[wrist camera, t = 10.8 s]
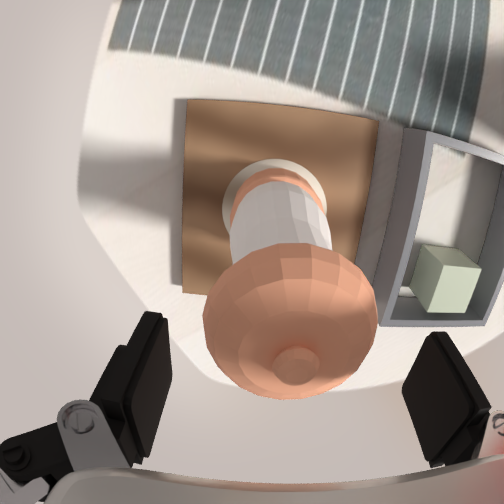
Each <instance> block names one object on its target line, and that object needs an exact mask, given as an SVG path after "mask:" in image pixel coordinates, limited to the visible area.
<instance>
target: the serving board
mask: <svg viewBox="0 0 504 504" xmlns="http://www.w3.org/2000/svg"><path fill="white" fill-rule="evenodd" d="M378 126H379V121H376V120H372V119H367V118H362V117H356V116H351V115H345V114H340V113H334V112H327V111H321V110H314V109H307V108H299V107H291V106H283V105H273V104H263V103H251V102H237V101H219V100H188V101H187V115H186V131H185V149H184V173H183V208H182V289H183V293H190V294H199V295H208V292H209V291H210V290H211V288H212V287H213V286H214V284H215V283H216V282H217V280H218V279H219V277H220V276H221V275H222V273H223V272H224V271H225V270H226V269H228V268H229V267H230V266H232V265H233V261H232V255H231V249H230V234H229V233H230V229H231V227H230V214H231V210H232V207H233V203H234V200H235V197H236V194H237V191H238V190H239V188H240V187H241V185H242V184H243V183H244V181H245V180H247V179H248V178H249V177H251V176H252V175H253V174H255V173H256V172H259V171H262V170H265V169H268V168H284V169H287V170H290V171H293V172H296V173H297V174H299V175H300V176H301V177H303V178H304V179H306V180H307V181H308V183H309V184H310V186H311V187H312V188H313V190H314V191H315V193H316V194H317V196H318V197H319V199H320V200H321V203H322V206H323V210H324V213H325V216H326V218H327V222H328V226H329V229H330V234H331V243H332V250H333V251H335V252H337V253H339V254H341V255H342V256H343V257H345V258H346V259H348V260H349V261H350V262H352V263H353V264H354V262H355V257H356V253H357V248H358V244H359V239H360V234H361V229H362V224H363V219H364V214H365V209H366V204H367V198H368V192H369V187H370V181H371V175H372V169H373V162H374V156H375V149H376V141H377V134H378Z"/></svg>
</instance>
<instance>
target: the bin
mask: <svg viewBox="0 0 504 504" xmlns="http://www.w3.org/2000/svg"><path fill="white" fill-rule="evenodd" d="M433 144H438V145H441V146H445V147H448V148H452V149H455V150H459V151H462V152H465V153H469V154H472V155H475V156H478V157H481V158H484V159H487V160H490V161H493V162H496V163H499V164H501V165H503V167H502V172H501V177H500V182H499V187H498V192H497V196H496V201H495V205H494V209H493V213H492V217H491V221H490V225H489V228H488V232H487V236H486V239H485V242H484V246H483V249H482V252H481V255H480V258H479V261H478V264H477V265H478V266H479V267H480V268H481V269H482V270H481V272H480V275H479V278H478V281H477V283H476V286H475V289H474V291H473V294H472V297H471V299H470V302H469V304H468V306H467V309H466V311H465V313H439V312H427V311H426V310H425V308H424V307H423V306H422V304H421V303H420V301H419V300H418V299H417V298H416V297H398V294H399V290H400V287H401V284H402V281H403V278H404V274H405V271H406V267H407V264H408V260H409V257H410V253H411V249H412V246H413V242H414V238H415V234H416V230H417V226H418V222H419V218H420V213H421V209H422V204H423V200H424V195H425V190H426V185H427V180H428V174H429V169H430V163H431V157H432V151H433ZM503 281H504V156H503V155H501V154H498V153H495V152H492V151H490V150H487V149H484V148H481V147H478V146H475V145H472V144H469V143H466V142H463V141H460V140H457V139H454V138H450V137H447V136H444V135H440V134H437V133H433V132H430V131H425V130H419V129H412V128H405V127H404V134H403V141H402V148H401V154H400V161H399V167H398V173H397V179H396V184H395V190H394V195H393V200H392V205H391V210H390V215H389V219H388V224H387V228H386V233H385V237H384V241H383V246H382V250H381V254H380V258H379V262H378V266H377V270H376V273H375V277H374V281H373V284H372V288H373V290H374V296H375V302H376V308H377V317H378V324H379V326H381V327H468V326H485V324H486V322H487V320H488V317H489V315H490V313H491V311H492V308H493V306H494V304H495V301H496V299H497V297H498V294H499V292H500V289H501V286H502V284H503Z"/></svg>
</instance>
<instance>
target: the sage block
mask: <svg viewBox="0 0 504 504" xmlns="http://www.w3.org/2000/svg"><path fill="white" fill-rule="evenodd" d="M481 270H482V269H481V268H480V267H479V266H478V265H477V264H476V263H474V262H473V261H472V260H471V259H470V258H469V257H467V256H466V255H465V254H464V253H463V252H461V251H460V250H459V249H456V248H448V247H440V246H432V245H424V244H422V246H421V249H420V253H419V256H418V260H417V263H416V267H415V270H414V273H413V277H412V280H411V283H410V286H409V288H410V289H411V290H412V292H413V293H414V294H415V296H416V297H417V299H418V300H419V301H420V303H421V304H422V306H423V307H424V308H425V310H426V311H427V312H439V313H465V311H466V309H467V306H468V304H469V302H470V299H471V297H472V294H473V291H474V289H475V286H476V283H477V281H478V278H479V275H480V272H481Z"/></svg>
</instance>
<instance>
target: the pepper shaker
mask: <svg viewBox="0 0 504 504" xmlns="http://www.w3.org/2000/svg"><path fill="white" fill-rule="evenodd" d="M230 227H231V229H230V233H229V234H230V249H231V255H232V261H233V265H232V266H230V267H229V268H228V269H226V270H225V271H224V272H223V273H222V275H221V276H220V277H219V279H218V280H217V282H216V283H215V284H214V286H213V287H212V288H211V290H210V291H209V292H208V296H207V300H206V304H205V307H204V311H203V315H202V316H203V324H204V331H205V338H206V344H207V348H208V350H209V352H210V354H211V356H212V357H213V359H214V361H215V363H216V364H217V366H218V367H219V368H220V369H221V370H222V372H223V373H224V374H225V375H226V376H228V377H229V378H230V379H231V380H232V381H233V382H235V383H236V384H237V385H238V386H239V387H241V388H243V389H245V390H247V391H249V392H252V393H254V394H256V395H259V396H263V397H268V398H274V399H279V400H282V399H283V400H284V399H303V398H307V397H310V396H315V395H319V394H322V393H324V392H326V391H328V390H330V389H332V388H334V387H336V386H338V385H340V384H342V383H343V382H344V381H345V380H346V379H348V378H349V377H350V376H351V375H352V374H353V373H354V372H356V371H357V369H358V368H359V366H360V365H361V363H362V362H363V360H364V359H365V357H366V355H367V354H368V352H369V350H370V348H371V346H372V345H373V342H374V338H375V333H376V329H377V324H378V317H377V308H376V302H375V296H374V290H373V288H372V286H371V285H370V283H369V282H368V280H367V278H366V277H365V275H364V274H363V272H362V271H361V269H360V268H358V267H357V266H356V265H354V264H353V263H352V262H350V261H349V260H348V259H346V258H345V257H343V256H342V255H341V254H339V253H337V252H335V251H333V250H332V243H331V234H330V229H329V226H328V222H327V218H326V216H325V213H324V210H323V206H322V203H321V200H320V199H319V197H318V196H317V194H316V193H315V191H314V190H313V188H312V187H311V186H310V184H309V183H308V181H307V180H306V179H304V178H303V177H301V176H300V175H299V174H297V173H296V172H293V171H290V170H287V169H284V168H268V169H265V170H262V171H259V172H256V173H255V174H253V175H252V176H251V177H249V178H248V179H247V180H245V181H244V183H243V184H242V185H241V187H240V188H239V190H238V191H237V194H236V197H235V200H234V203H233V207H232V210H231V214H230Z"/></svg>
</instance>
